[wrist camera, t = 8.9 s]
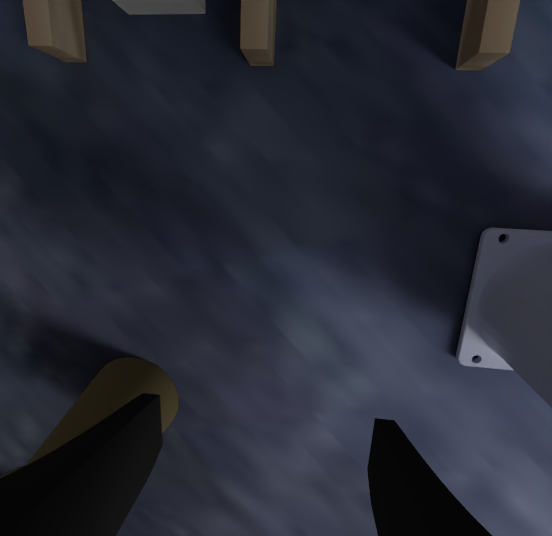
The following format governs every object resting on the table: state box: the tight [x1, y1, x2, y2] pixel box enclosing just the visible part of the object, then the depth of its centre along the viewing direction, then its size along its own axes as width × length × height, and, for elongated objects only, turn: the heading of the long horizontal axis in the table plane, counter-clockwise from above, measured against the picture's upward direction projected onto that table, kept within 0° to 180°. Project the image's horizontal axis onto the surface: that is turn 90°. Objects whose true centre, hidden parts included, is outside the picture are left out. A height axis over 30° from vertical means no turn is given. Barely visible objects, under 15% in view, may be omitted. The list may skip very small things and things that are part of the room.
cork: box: [0, 357, 179, 478], centre depth 19 cm, size 6×6×11 cm
